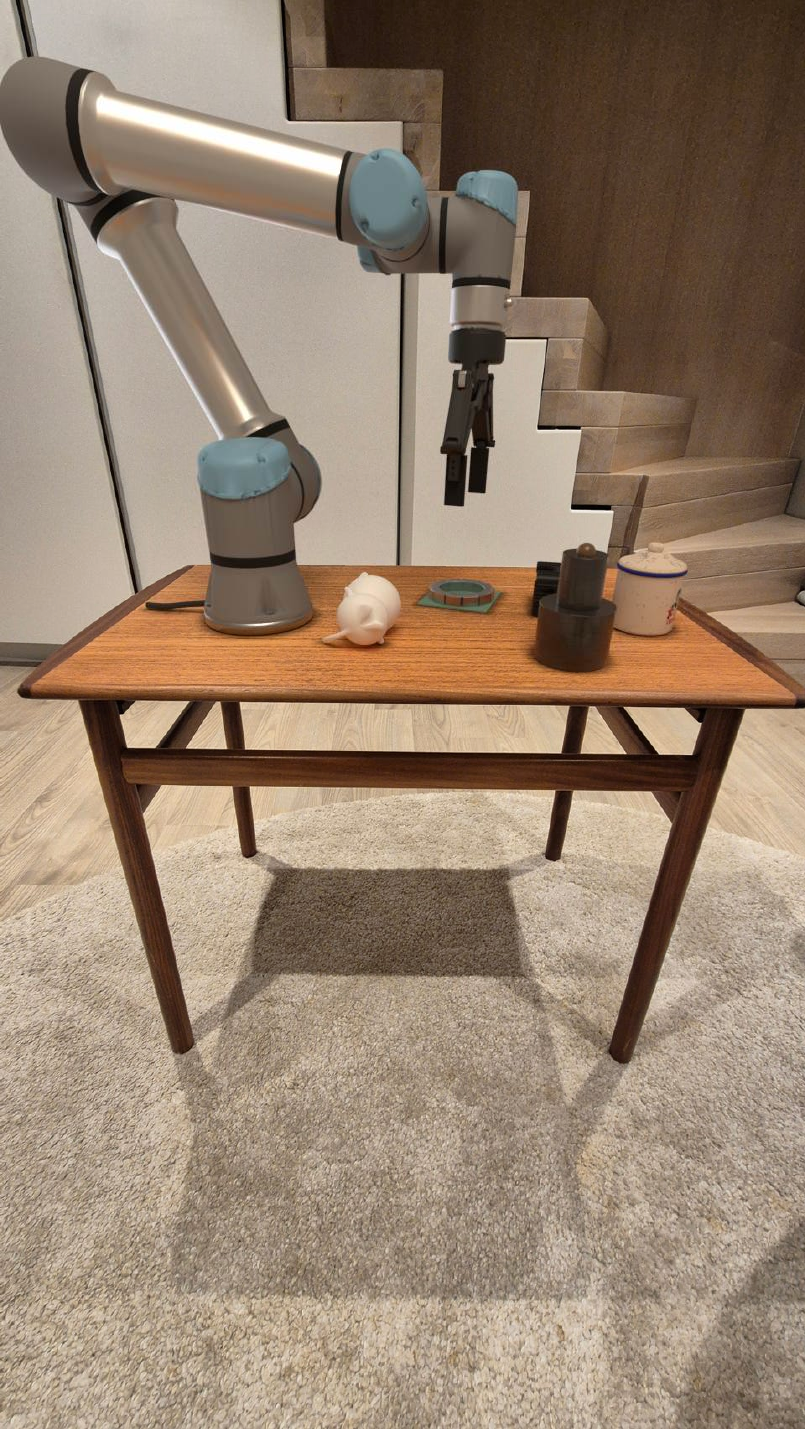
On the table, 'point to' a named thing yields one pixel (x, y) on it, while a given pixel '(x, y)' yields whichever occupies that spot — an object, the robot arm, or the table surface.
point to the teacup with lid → (648, 591)
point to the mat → (481, 609)
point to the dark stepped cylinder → (576, 615)
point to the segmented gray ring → (442, 596)
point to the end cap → (545, 582)
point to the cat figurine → (367, 610)
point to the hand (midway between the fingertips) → (466, 499)
